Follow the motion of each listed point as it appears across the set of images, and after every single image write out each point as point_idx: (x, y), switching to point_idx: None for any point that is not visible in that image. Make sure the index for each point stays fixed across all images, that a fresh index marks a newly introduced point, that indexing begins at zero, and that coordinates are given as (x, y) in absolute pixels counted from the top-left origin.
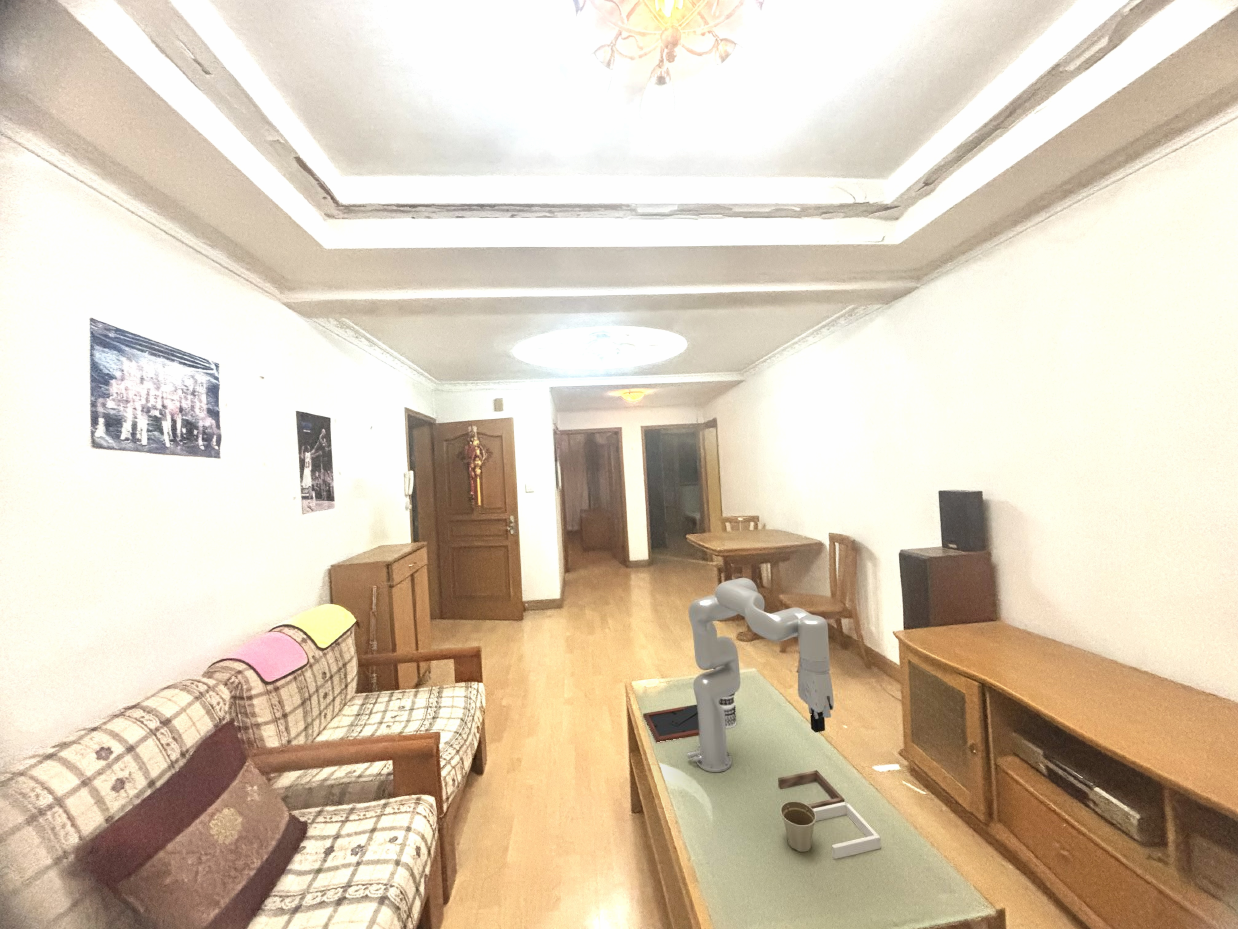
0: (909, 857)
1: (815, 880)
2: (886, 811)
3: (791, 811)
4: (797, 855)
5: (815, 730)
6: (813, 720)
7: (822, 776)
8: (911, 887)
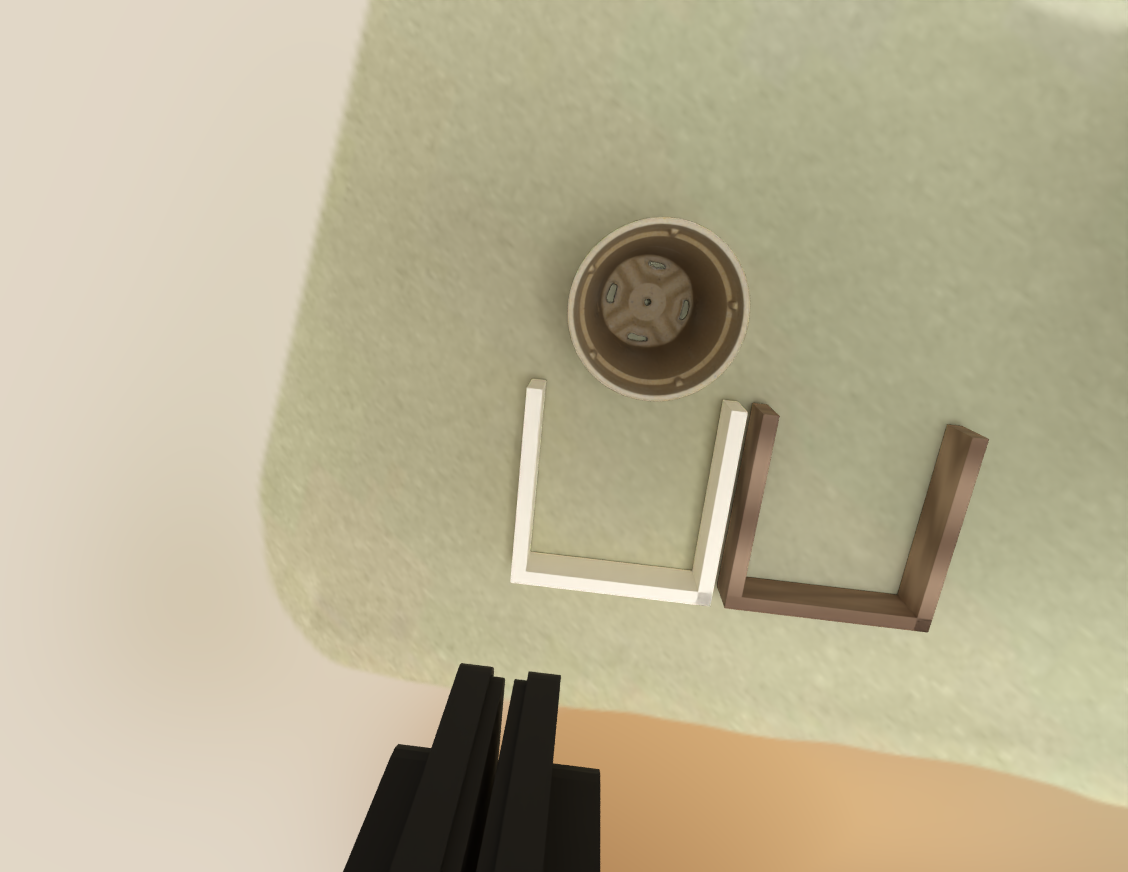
0: (454, 612)
1: (476, 241)
2: (643, 701)
3: (722, 319)
4: None
5: (455, 696)
6: (410, 843)
7: (881, 625)
8: (359, 528)
